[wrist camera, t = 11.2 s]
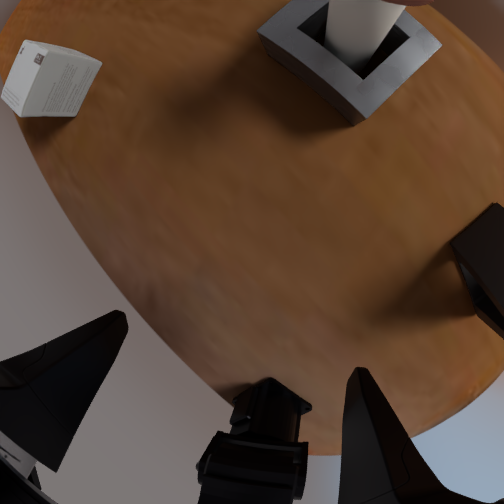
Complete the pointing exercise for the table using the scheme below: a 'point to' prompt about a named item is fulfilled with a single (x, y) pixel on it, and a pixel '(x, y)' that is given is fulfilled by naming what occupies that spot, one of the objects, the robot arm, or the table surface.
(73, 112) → the skincare box
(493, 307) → the phone stand
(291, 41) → the block
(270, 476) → the robot arm
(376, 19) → the pin
